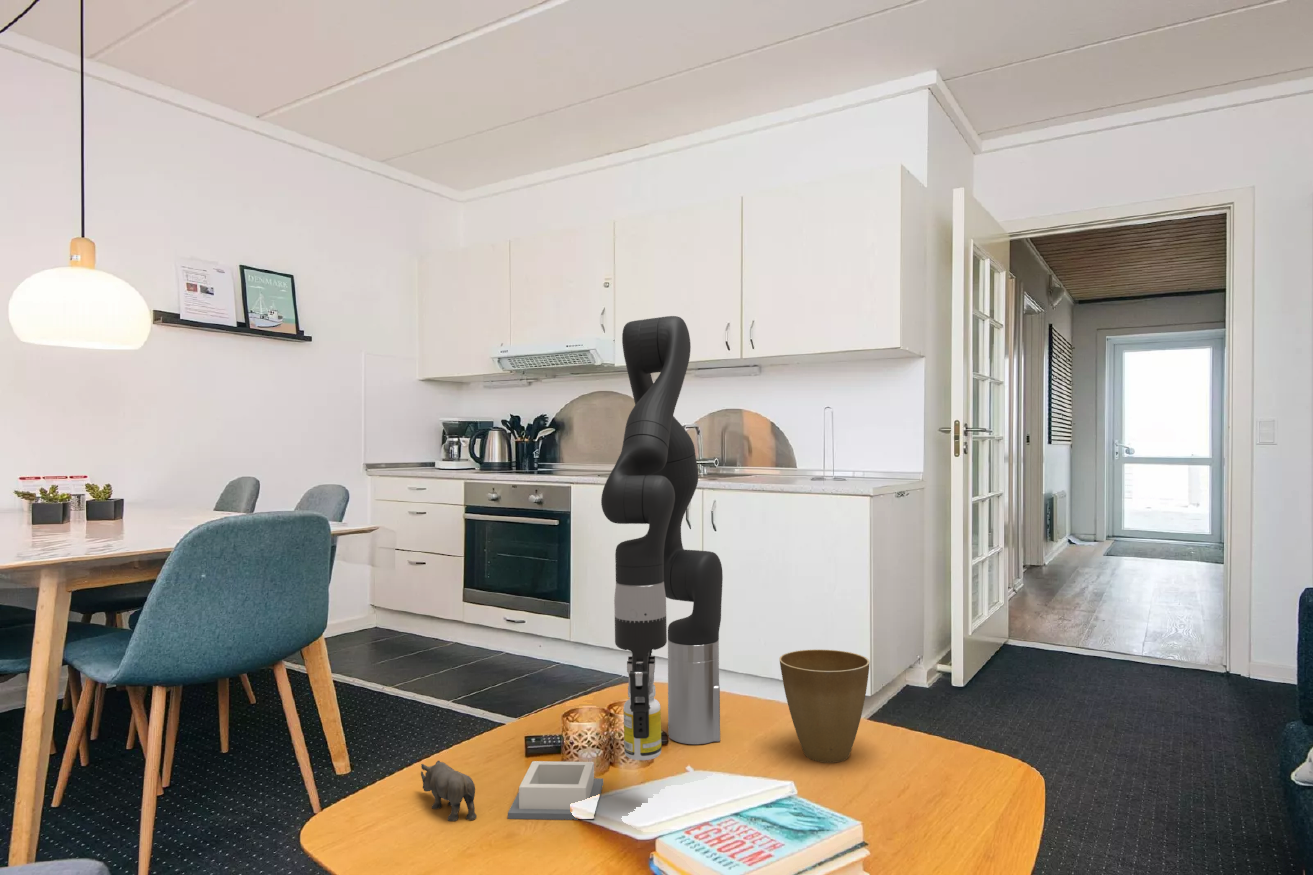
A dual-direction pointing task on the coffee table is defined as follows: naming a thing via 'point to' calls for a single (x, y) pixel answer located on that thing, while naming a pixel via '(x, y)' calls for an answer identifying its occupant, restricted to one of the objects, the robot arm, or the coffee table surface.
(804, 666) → the plant pot
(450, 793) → the rhino figurine
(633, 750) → the supplement bottle
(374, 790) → the coffee table surface
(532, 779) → the box
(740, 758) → the coffee table surface
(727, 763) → the coffee table surface
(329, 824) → the coffee table surface
